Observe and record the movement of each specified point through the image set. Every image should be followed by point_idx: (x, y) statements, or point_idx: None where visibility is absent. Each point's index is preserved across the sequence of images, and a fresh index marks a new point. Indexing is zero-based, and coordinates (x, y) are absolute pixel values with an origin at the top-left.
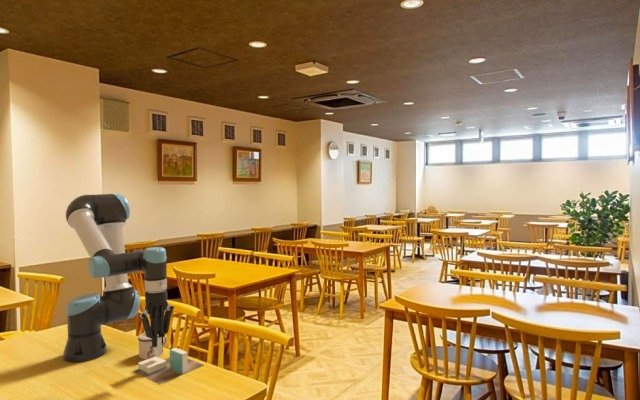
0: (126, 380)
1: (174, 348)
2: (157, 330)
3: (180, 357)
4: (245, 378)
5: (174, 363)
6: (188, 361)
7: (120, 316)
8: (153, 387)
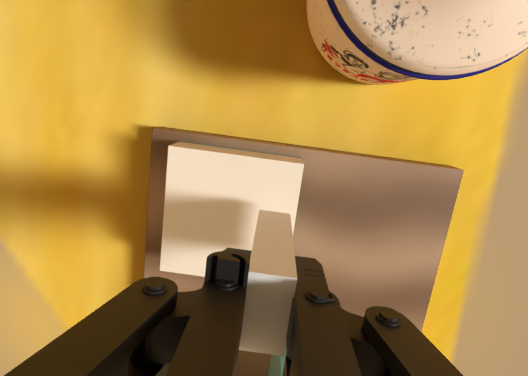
0: (105, 150)
1: None
2: (297, 328)
3: None
4: None
5: (273, 365)
6: (403, 312)
7: None
8: None
